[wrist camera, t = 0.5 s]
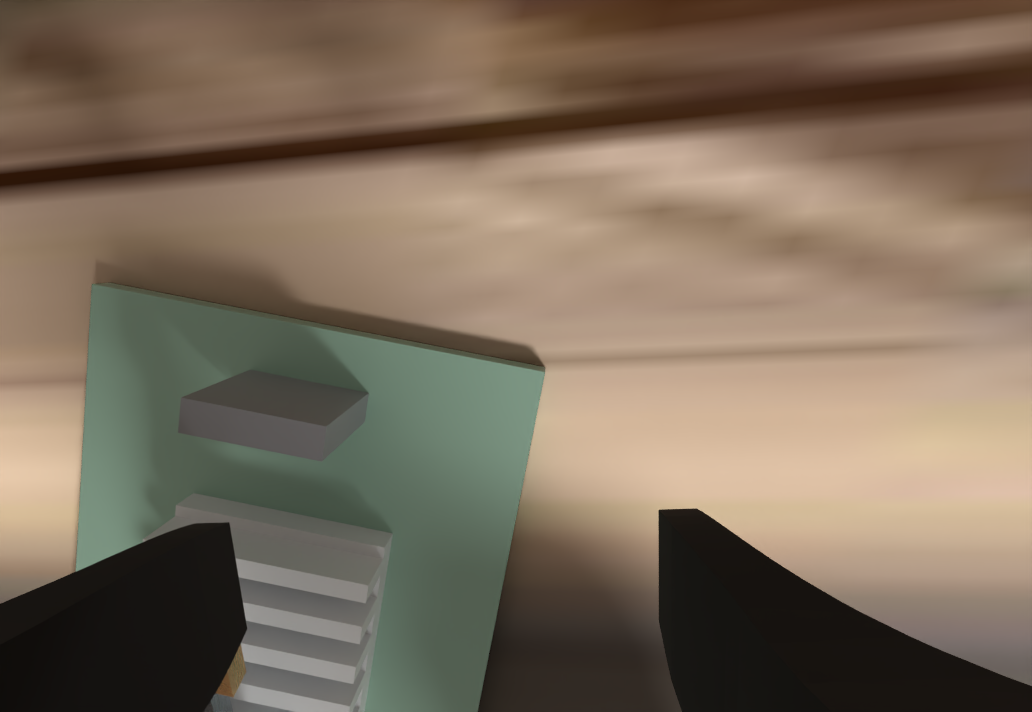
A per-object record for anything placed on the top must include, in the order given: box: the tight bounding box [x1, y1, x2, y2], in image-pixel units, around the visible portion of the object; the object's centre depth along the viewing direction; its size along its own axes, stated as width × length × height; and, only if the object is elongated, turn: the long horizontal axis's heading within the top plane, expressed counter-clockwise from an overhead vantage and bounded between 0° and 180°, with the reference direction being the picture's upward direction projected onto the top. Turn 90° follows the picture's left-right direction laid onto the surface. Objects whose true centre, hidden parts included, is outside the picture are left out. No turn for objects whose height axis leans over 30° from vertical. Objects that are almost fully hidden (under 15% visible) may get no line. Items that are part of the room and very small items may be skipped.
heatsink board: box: [76, 283, 545, 712], centre depth 20 cm, size 20×15×5 cm
